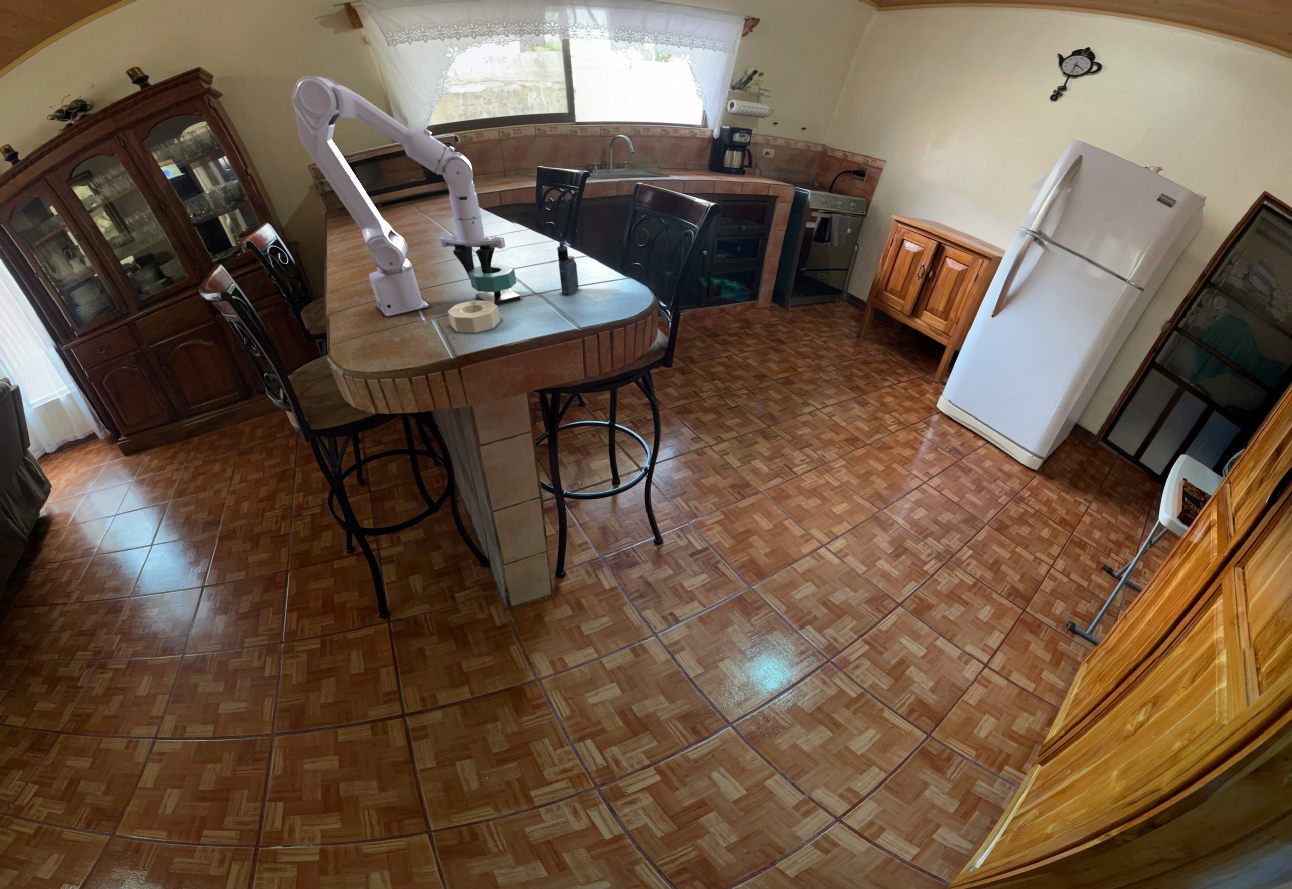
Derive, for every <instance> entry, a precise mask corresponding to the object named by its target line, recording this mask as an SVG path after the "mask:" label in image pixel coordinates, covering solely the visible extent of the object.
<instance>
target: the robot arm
mask: <svg viewBox="0 0 1292 889" xmlns="http://www.w3.org/2000/svg"><path fill="white" fill-rule="evenodd" d="M291 102H292V105H293V108H294V111H295V119H296V126H297V132H298V138H299V141H300V143H301V144H302V146H303V147H304V148H305V151H306V152H307V153H308V154H309V156H310V157H311V159H312V160H313V161H314V163H315V164H316V166H317V167H318V169H319V170H320V172H321V173H322V175H323V176H324V178H325V179H326V181H327V182H328V183H329V185H330V187H331V188H332V189H333V191H334V192H335V194H336V195H337V197H338V198H339V201H341V202H342V204H343V205H344V207H345V208H346V210H347V212H348V213H349V215H350V216H351V217H352V219H353V220H354V222H355V223H356V224H357V226H358V227H359V229H360V230H361V233H362V237H363V239H364V242H365V245H366V246H367V247H368V249H369V251H370V256H371V257H370V258H371V260H372V262H373V264H374V266H376V269H377V270H376V271H374V272H371V273H368V278H369V283H370V286H371V288H372V291H373V294H374V297H375V301H376V304H377V307H378V308H379V309H380V311H381V312H382V313H383V314H384V315H385V317H391V316H396V315H400V314H405V313H410V312H412V311H413V312H414V311H418V310H421V309H425V308H429V304H428V303H427V302H426V301H425V300H424V299H422V296H421V292H420V289H419V285H418V282H417V279H416V274H415V272H414V267H413V264H412V262H410V261H409V260H408V258H407V256H408V252H409V246H408V243H407V242H406V240H405V239H404V237H402V236H401V235H400V234H398V233H397V232H396V231H395V230H394V229H393V227H392V226H391V225H390V224H389V223H388V222H387V221H386V220H385V219H384V218H383V217H382V215H381V214H380V212H379V210H378V209H377V207H376V206H375V204H374V203H373V201H372V200H371V198H370V196H369V195H368V194H367V192H366V190H365V189H364V187H363V186H362V184H361V183H360V181H359V180H358V178H357V177H356V175H355V173H354V172H353V170H352V169H351V167H350V165H349V164H348V163H347V161H346V159H345V158H344V156H343V155H342V153H341V152H340V150H339V149H338V147H337V146H336V144H335V142H334V141H333V136H334V130H335V126H336V122H337V121H338V119H339V118H342V119H354V120H359V121H362V122H363V123H365V124H367V125H368V126H370V127H372V128H373V129H376V130H377V131H379V132H380V133H381V134H383V135H385V136H386V137H389V138H390V139H392V140H394V141H396V142H397V143H398V144H400V145H402V147H403V149H404V152H405V154H406V156H407V157H409V158H411V159H412V160H414V161H415V162H417V163H418V164H420V165H422V166H423V167H425V168H426V169H428V170H430V171H432V173H435V174H436V175H442V177H443V180H444V181H445V182H446V184H447V187H448V191H449V195H448V197H449V203H450V207H451V211H452V214H453V219H454V225H455V228H456V233H457V235H444V236H441V237H440V238H439V241H440V243H441V244H440V245H441V247H442V248H447V247H454V249H453V250H452V253H453V255H454V256H455V257H456V258H457V259H458V261H459V262H460V264H461V266H462V267H463V268H464V270H465V272H466V275H467V276H468V279H469V280H470V277H469V272H470V271H471V270H473V269H474V268H475V264H474V257H473V248H478V249H476V250H475V254H476V256H477V258H478V261H479V263H480V266H481V267H482V272H483V273H487V274H490V269H491V264H492V260H493V257H494V253H495V249H496V248H497V249H501V250H502V249H504V248H505V247H506V240H505V237H501V236H500V237H499V236H492V235H485V231H484V226H483V221H482V215H481V210H480V204H479V198H478V195H477V192H476V186H475V184H474V181H473V178H474V173H473V168H472V167H473V166H472V164H471V162H470V161H469V159H468V158H467V157H466V156H465V155H464V154H463V153H461V152H457V151H456V152H455V148H454V147H452V146H451V145H450V146H447V145H445V144H444V143H442V142H441V141H439V140H437V139H436V138H434V137H433V136H432V133H433V132H431V131H430V130H428V129H427V128H425V129H424V130H422V129H421V128H419V127H415V128H410V129H409V128H408V127H406V126H404V125H403V124H401V123H400V122H399V121H397V120H396V119H394V118H393V117H392V116H390V115H389V114H387V113H386V112H384V111H383V110H381V109H380V108H378V106H375V105H374V104H373V103H371V102H370V101H369V100H367V99H366V98H365V97H363V96H361V95H360V94H358V93H356V92H355V91H353V90H351V89H350V88H348V87H346V86H344V85H342V84H338V83H337V82H336V81H335V80H333V79H331V78H330V77H327V76H325V75H324V76H323V75H317V76H311V75H310V76H309V75H306V76H304V77H301V78H300V79H298V81H296V83H295V86H294V90H293V94H292V96H291Z"/></svg>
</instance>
